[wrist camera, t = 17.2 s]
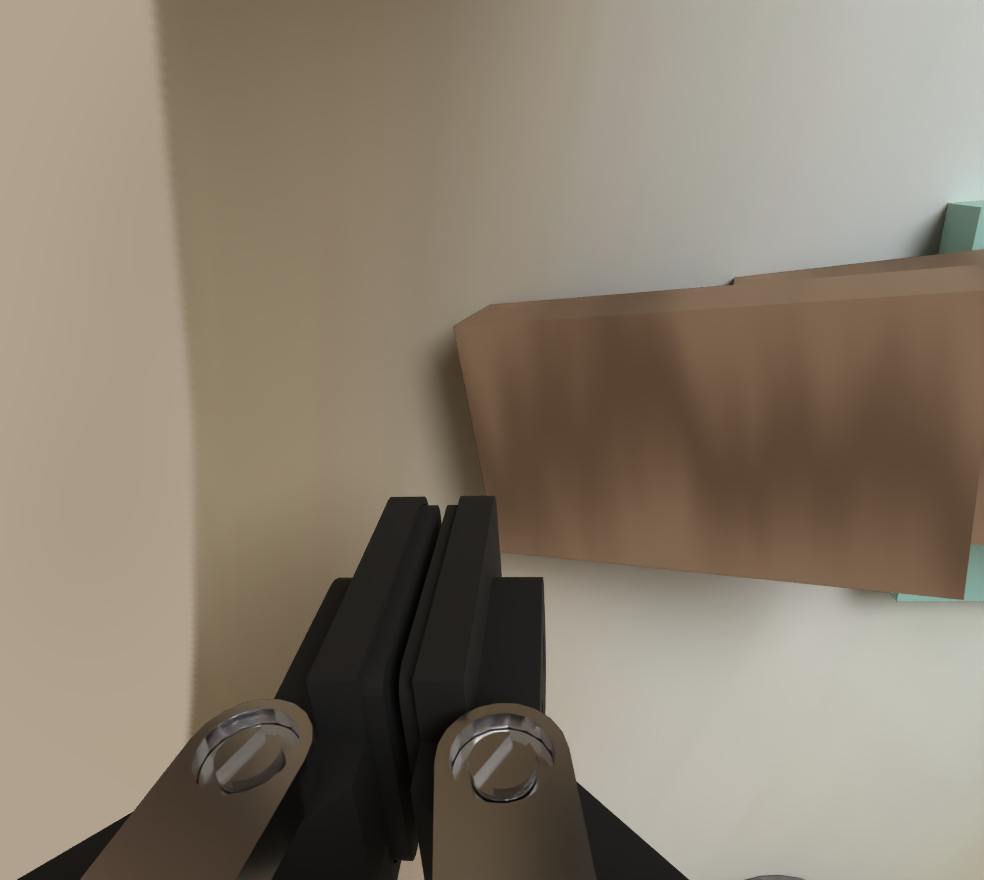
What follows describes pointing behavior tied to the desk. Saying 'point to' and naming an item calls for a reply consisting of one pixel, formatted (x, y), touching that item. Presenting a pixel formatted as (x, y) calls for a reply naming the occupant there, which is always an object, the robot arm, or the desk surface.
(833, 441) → the domino
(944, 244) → the teal domino
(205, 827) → the robot arm
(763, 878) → the beverage cup
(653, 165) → the desk surface
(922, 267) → the domino
